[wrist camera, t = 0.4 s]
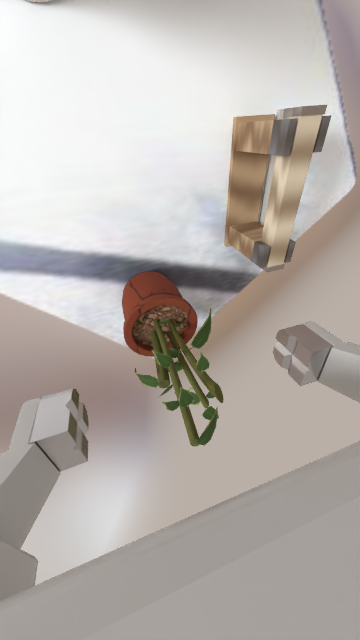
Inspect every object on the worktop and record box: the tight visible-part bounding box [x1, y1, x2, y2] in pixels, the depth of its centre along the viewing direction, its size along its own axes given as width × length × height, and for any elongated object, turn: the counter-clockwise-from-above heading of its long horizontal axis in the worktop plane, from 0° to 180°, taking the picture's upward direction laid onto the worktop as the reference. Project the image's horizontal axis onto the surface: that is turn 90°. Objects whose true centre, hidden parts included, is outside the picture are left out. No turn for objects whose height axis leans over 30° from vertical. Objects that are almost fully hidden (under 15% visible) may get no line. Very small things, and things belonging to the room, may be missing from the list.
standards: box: [225, 114, 331, 268], centre depth 39 cm, size 21×7×13 cm, turn 3°
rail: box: [261, 105, 327, 272], centre depth 35 cm, size 22×3×3 cm, turn 3°
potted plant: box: [122, 271, 223, 446], centre depth 38 cm, size 17×16×35 cm
